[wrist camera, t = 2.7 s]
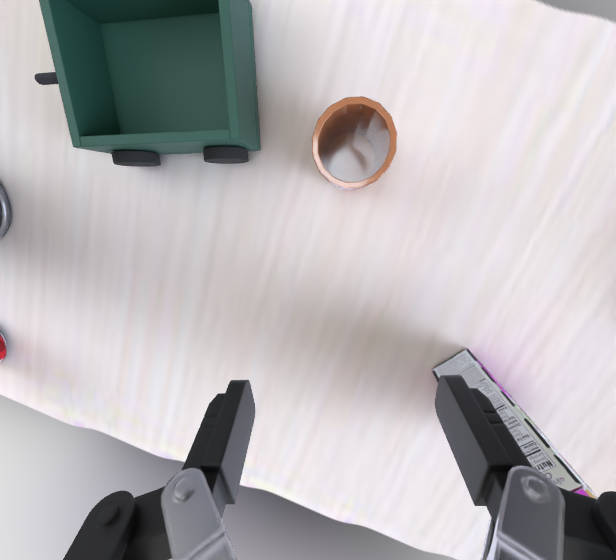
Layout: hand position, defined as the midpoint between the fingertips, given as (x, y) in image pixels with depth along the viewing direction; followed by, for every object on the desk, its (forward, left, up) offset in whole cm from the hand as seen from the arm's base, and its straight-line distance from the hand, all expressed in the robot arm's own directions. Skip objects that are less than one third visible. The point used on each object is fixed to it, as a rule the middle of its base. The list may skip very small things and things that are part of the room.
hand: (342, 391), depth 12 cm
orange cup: (+1, +11, -20) cm, 23 cm away
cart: (-15, +18, -20) cm, 31 cm away
